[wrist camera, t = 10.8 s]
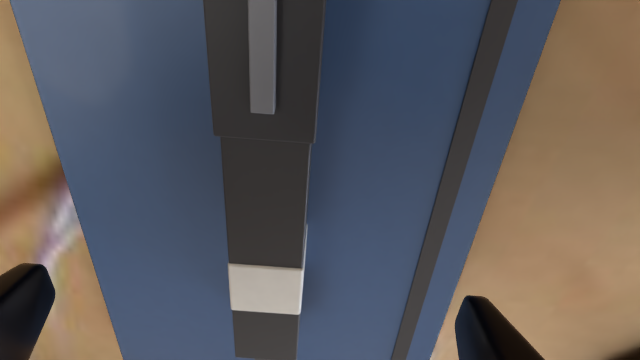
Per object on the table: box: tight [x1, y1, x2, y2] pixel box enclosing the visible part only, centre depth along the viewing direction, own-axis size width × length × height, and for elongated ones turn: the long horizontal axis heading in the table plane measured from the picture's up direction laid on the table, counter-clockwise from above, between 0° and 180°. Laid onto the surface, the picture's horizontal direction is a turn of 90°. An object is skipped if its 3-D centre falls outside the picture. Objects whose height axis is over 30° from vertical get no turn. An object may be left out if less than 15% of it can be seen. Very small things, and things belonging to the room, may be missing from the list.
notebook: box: [10, 0, 561, 360], centre depth 13 cm, size 13×20×1 cm, turn 176°
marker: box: [203, 0, 326, 360], centre depth 12 cm, size 14×2×3 cm, turn 176°
